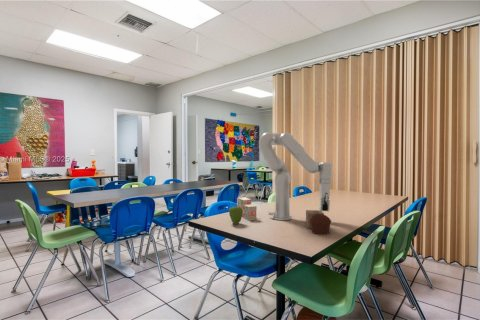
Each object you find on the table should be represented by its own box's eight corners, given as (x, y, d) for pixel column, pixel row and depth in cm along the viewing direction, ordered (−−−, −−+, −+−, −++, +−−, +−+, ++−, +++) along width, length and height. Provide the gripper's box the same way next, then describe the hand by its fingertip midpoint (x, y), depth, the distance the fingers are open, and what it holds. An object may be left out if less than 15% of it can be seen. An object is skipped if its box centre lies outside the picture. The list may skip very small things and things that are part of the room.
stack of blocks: (256, 219, 181) (256, 201, 181) (248, 220, 179) (247, 202, 178) (245, 213, 201) (244, 196, 201) (237, 214, 199) (236, 197, 198)
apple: (244, 222, 174) (244, 204, 173) (240, 225, 166) (240, 207, 165) (231, 221, 176) (231, 204, 176) (227, 225, 168) (227, 206, 168)
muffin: (306, 232, 150) (306, 215, 150) (314, 228, 158) (314, 211, 158) (326, 237, 142) (326, 218, 142) (334, 232, 151) (334, 214, 150)
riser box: (308, 228, 158) (308, 213, 158) (306, 224, 167) (305, 210, 167) (324, 229, 157) (324, 213, 157) (320, 225, 166) (320, 210, 166)
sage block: (320, 211, 172) (320, 200, 172) (318, 209, 177) (319, 198, 177) (329, 211, 171) (329, 200, 171) (327, 209, 177) (327, 198, 176)
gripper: (316, 179, 182) (315, 206, 183) (321, 182, 165) (320, 212, 166) (328, 180, 182) (326, 206, 182) (334, 183, 165) (333, 212, 165)
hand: (323, 209), depth 174 cm, fingers closed on sage block, 5 cm apart
